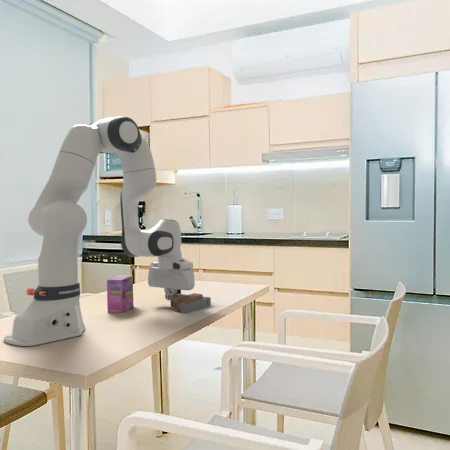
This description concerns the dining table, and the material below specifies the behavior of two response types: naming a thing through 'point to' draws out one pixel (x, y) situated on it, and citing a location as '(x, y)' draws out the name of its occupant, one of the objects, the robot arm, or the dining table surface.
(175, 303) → the t block
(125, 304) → the box
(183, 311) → the corner fence
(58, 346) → the dining table surface
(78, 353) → the dining table surface
